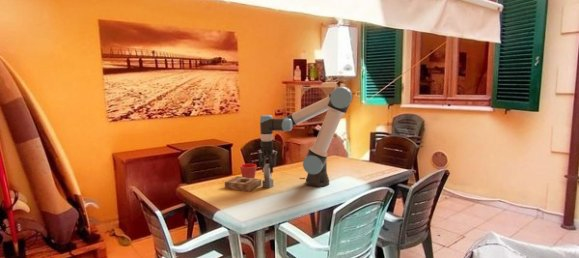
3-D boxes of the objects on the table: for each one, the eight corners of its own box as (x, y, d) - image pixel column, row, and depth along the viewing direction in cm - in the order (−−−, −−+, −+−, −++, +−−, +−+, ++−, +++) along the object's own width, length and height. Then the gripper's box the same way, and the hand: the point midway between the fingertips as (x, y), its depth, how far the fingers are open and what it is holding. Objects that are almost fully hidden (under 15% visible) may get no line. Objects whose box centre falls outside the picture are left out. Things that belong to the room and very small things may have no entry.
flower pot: (254, 181, 226) (253, 167, 225) (238, 181, 229) (237, 166, 227) (258, 177, 237) (258, 163, 235) (243, 176, 239) (243, 163, 238)
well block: (261, 185, 218) (261, 179, 218) (249, 191, 206) (249, 185, 205) (237, 182, 226) (237, 176, 225) (224, 188, 213) (224, 181, 213)
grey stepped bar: (273, 185, 216) (272, 163, 214) (269, 187, 212) (269, 165, 210) (266, 184, 218) (265, 163, 217) (262, 187, 214) (261, 164, 212)
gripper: (281, 140, 211) (282, 177, 214) (258, 138, 218) (259, 175, 221) (275, 142, 205) (276, 180, 208) (252, 140, 211) (253, 177, 214)
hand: (267, 177), depth 214 cm, fingers closed on grey stepped bar, 3 cm apart
